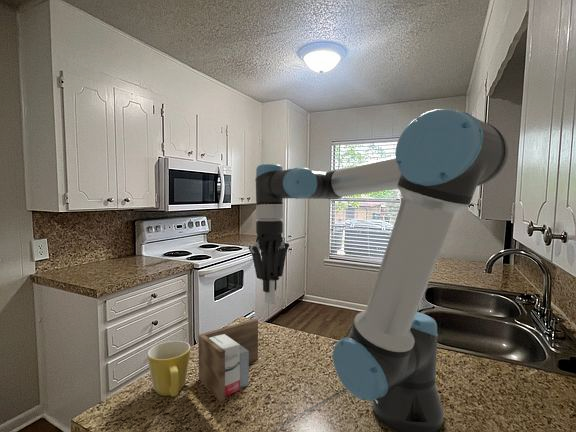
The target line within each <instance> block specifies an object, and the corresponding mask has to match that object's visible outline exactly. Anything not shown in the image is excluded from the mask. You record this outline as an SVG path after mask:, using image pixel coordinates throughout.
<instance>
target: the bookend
mask: <svg viewBox="0 0 576 432" xmlns="http://www.w3.org/2000/svg"><path fill="white" fill-rule="evenodd" d="M249 364H250V363H249V351H248V350H247V349H245V348H244V347H242V346H241V345H240V390H241V389H243V388H245V387H247V386H249V384H250V383H249V381H250V380H249V379H250V378H249V377H250V376H249V375H250V374H249V366H250V365H249Z"/></svg>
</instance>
